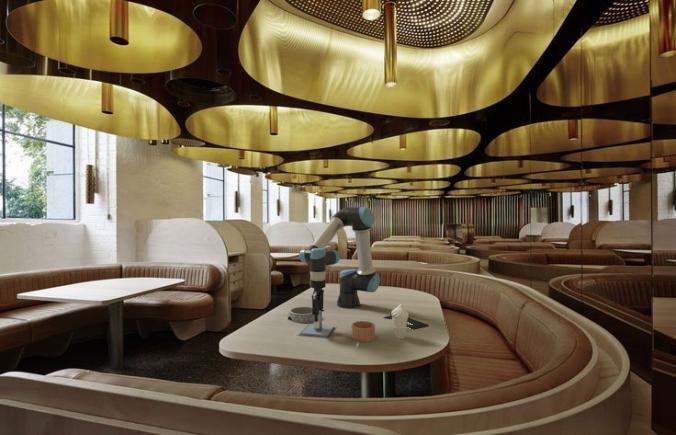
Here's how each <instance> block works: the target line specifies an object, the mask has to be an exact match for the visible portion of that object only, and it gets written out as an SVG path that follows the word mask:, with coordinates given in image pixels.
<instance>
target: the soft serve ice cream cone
mask: <svg viewBox="0 0 676 435" xmlns="http://www.w3.org/2000/svg"><path fill="white" fill-rule="evenodd" d="M390 313H391V314H390V315H391V316H392V319H391V320H392V327H393V333H394V337H395V339H397V340H403V339H405V337H406V336H405V335H406V331H407V330H406V329H407V326H406V325H407V324H408V323H407V318H408V317H409V313H408V311H407V310H406V308H405V306H404V305H403V304H401V303H400V304H399V305H398V306H397V307H395V308H394V309H393V310H392V311H391V312H390Z"/></svg>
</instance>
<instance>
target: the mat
mask: <svg viewBox="0 0 676 435" xmlns="http://www.w3.org/2000/svg"><path fill="white" fill-rule="evenodd" d="M308 325H309V324H307V326H308ZM307 326H305V327H304V328H303V329H302V330H301V331H300V333H299V334H298V335H297V337H305V338H316V339H329V340H330V339H331V337H332V336H333V334H334V333H335V332H336V330H337V328H338V327H337V326H334V328H333V330H332V331H331V333H330V334H329V335H328V337H318V336H307V335H301V333H302V332H303V331H304V330H305V328H306V327H307Z"/></svg>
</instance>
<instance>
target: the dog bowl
mask: <svg viewBox="0 0 676 435" xmlns="http://www.w3.org/2000/svg"><path fill="white" fill-rule="evenodd" d="M289 318H290V319H291V322H292V323H295V324H296V323H297V324H308V323H310V324H311V323H314V315H312V306H295V307H292V308H291V309H290V310H289V313H288V317H287V319H289Z"/></svg>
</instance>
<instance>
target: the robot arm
mask: <svg viewBox="0 0 676 435" xmlns="http://www.w3.org/2000/svg"><path fill="white" fill-rule="evenodd" d="M374 223H375V215H374V212H373V210H372V209H371V208H369V207H367V206H365V207H364V206H353V207H351V206H350V207H347V206H346V207H344V208H342V209H340V210H339V211H337V212H336V213H335V214H333V215H332V216H331V217H330V219H329V223H328V224H326V226H325V227H324V229H322V231H321V232H320V233H319V235H318V236H317V237H316V238H315V239H314V241H313V242H312V243H311V244H310V245H309V247H308V248H302V249H301V250H300V251H299V255H298V257H299V258H298V259H299V260H300V262H302V263H305V264H310V271H309V275H310V288H311V289H313V292H312V294H311V307H312V315H314V322H313V325H314V328H319V310H321V311H322V312H324V311H325V309H324V294H325V290H324V288H326V286H327V285H326V282H327V281H326V279H327V278H326V276H327V275H326V274H327V272H326V267H328V266H333V265H336V264H338V263H339V261H340V259H341V255H340V253H339V251H337V250H334V249H330V250H326V248H327V247H328V245H329V244H330V243H331V241H332V240H334V238H335V237H336V235H337V234H338V232H340V231H341V230H343V229H344V228H345V227H351V229H352V231H353V232H354V237H355V244H356V253H357V254H356V255H357V261H358V262H357V263H358V264H357V265H358V269H356V268H352V269H343V270H341V271H339V294H338V296H337V297H338V298H337V301H336V306H337V307H339V308H343V309H353V308H354V309H355V308H358V307H360V306H361V300H360V296H359V294H358V292H364V293H365V292H367V293H375V292H377V290H378V288H379V286H380V281H381V277H380V275H379V274H378V273H376V269H375V268H374V267H373V258H372V246H371V239H370V230H371V229H372V226H374Z"/></svg>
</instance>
